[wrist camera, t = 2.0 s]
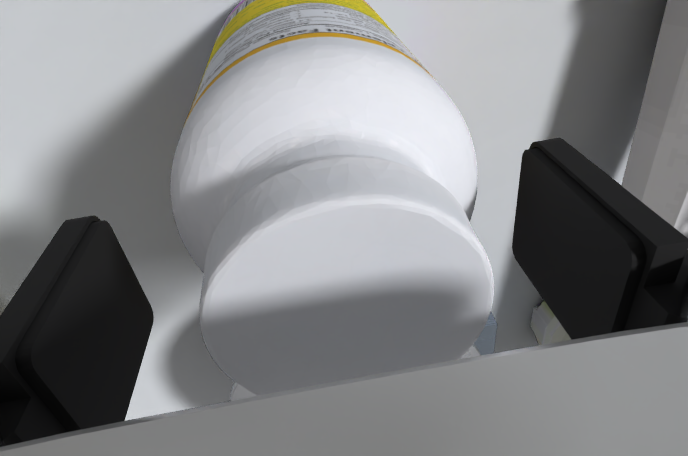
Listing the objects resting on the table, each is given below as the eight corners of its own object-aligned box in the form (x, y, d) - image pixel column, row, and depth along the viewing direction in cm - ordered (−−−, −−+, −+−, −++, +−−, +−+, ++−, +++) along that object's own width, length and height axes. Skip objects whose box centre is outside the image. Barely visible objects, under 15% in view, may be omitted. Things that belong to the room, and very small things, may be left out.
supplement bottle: (359, 164, 20) (447, 450, 10) (203, 129, 18) (115, 434, 8) (418, 4, 17) (650, 193, 6) (231, -59, 15) (138, 61, 5)
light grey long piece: (968, -211, 12) (675, 437, 24) (742, -149, 18) (597, 347, 30) (779, -208, 11) (577, 451, 23) (611, -145, 17) (519, 356, 29)
